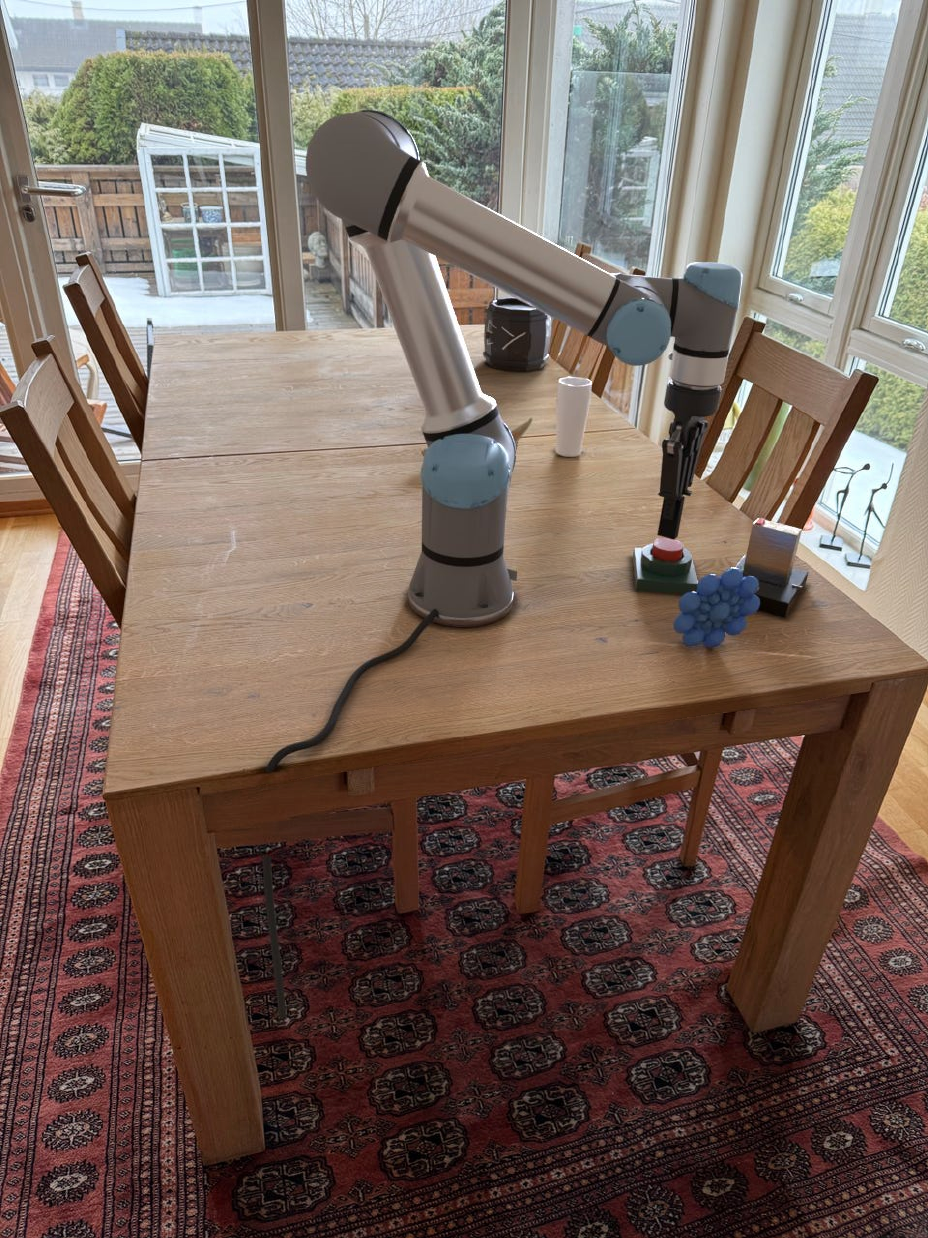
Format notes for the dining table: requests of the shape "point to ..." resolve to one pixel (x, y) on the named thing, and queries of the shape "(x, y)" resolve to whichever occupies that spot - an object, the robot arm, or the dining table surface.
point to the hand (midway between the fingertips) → (667, 535)
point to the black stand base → (778, 592)
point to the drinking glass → (571, 414)
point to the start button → (667, 549)
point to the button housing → (663, 572)
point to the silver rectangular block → (771, 551)
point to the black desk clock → (516, 335)
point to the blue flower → (717, 608)
